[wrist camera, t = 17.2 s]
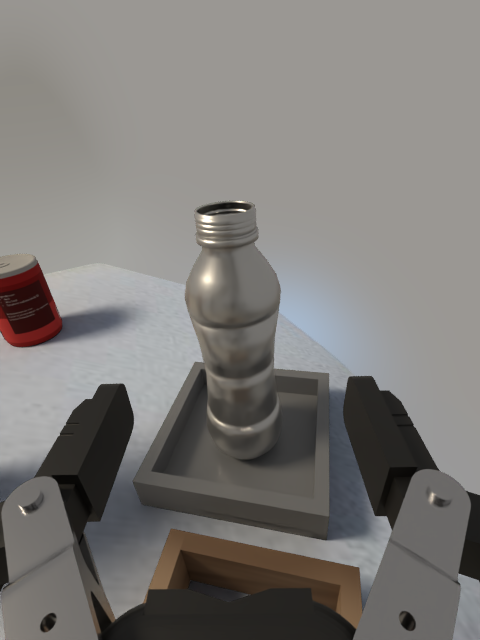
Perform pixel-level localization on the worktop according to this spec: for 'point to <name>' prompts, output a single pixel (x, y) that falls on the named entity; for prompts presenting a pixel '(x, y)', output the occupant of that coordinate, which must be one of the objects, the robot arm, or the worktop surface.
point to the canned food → (26, 302)
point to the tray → (245, 461)
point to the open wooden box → (256, 571)
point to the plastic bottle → (236, 329)
